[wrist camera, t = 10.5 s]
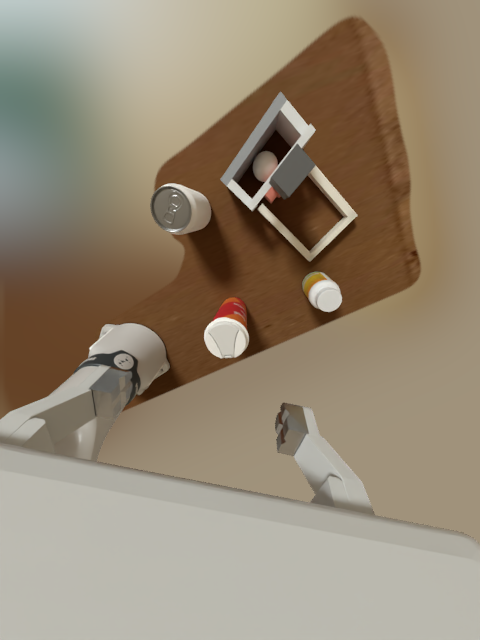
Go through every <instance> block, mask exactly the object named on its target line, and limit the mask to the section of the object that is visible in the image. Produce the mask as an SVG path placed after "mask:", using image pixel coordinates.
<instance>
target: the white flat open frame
mask: <svg viewBox="0 0 480 640" xmlns="http://www.w3.org/2000/svg"><path fill="white" fill-rule="evenodd" d="M308 176H309V178H310V179H311V180H312V181H313V182H314V183H315V184H316V186H317V187H318V188H319V189H320V190H321V191H322V193H323V194H324V195H325V196H326V197H327V198H328V199H329V201H330V202H331V203H332V204H333V205H334V206H335V207H336V209H337V210H338V211H339V212H340V213H341V214H342V216H343V218H342V219H341V220H340V221H339V222H338V223H337V224H336V225H335V226H334V227H333V228H332V229H331V230H330V231H329V232H328V233H327V234H326V235H325V236H324V237H323V238H322V239H321V240H320V241H319V242H318V243H317V244H316V245H315V246H314V247H313V248H312V249H311V250H310V251H308V250H307V249H306V248H305V247H304V245H303V244H302V243H301V242H300V241H299V240H298V239H297V238H296V237H295V236H294V235H293V234H292V233H291V232H290V231H289V230H288V229H287V228H286V227H285V226H284V225H283V224H282V223H281V222H280V221H279V220H278V219H277V218H276V217H275V216H274V215H273V214H272V213H271V212H270V211H269V210H268V209H267V208H266V207H265V206H264V205H263V204H261V206H260V207H259V208H258V209H257V210H258V211H259V212H260V213H261V214H262V215H263V216H264V217H265V218H266V219H267V220H268V221H269V222H270V223H271V224H272V225H273V226H274V227H275V228H276V229H277V230H278V231H279V232H280V233H281V234H282V235H283V236H284V237H285V238H286V239H287V240H288V241H289V242H290V243H291V244H292V245H293V246H294V247H295V248H296V249H297V250H298V251H299V252H300V253H301V254H302V255H303V256H304V257H305V258H306V259H307V260H308V261H309V262H310V261H311V260H312V259H313V258H314V257H315V256H316V255H317V254H319V253H320V252H321V251H322V250H323V249H324V248H325V247H326V246H327V245H328V244H329V243H330V242H331V241H332V240H333V239H334V238H335V237H336V236H337V235H338V234H339V233H340V232H341V231H342V230H343V229H344V228H345V227H346V226H347V225H348V224H349V223H350V222H351V221H352V220H353V219H354V218H355V217H356V216H357V214H356V213H355V211H354V210H353V209H352V208H351V207H350V206H349V204H348V203H347V202H346V201H345V200H344V198H343V197H342V196H341V195H340V194H339V193H338V191H337V190H336V189H335V188H334V187H333V185H332V184H331V183H330V182H329V181H328V180H327V178H326V177H325V176H324V175H323V174H322V172H321V171H320V170H319V169H318V168H317V167H316V166H315V167H314V168H313V169H312V170H311V172H310V173H309V174H308Z"/></svg>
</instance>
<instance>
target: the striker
mask: <svg viewBox="0 0 480 640" xmlns="http://www.w3.org/2000/svg"><path fill="white" fill-rule="evenodd" d="M315 166H316V165H315V164H314V163H313V161H312V160H311V159H310V158H309V157H308V155H307V154H306V153H305V152H304V151H303V150H302V148H301V147H300V146H299V145H298V144H296V146H295V147H294V148H293V149H292V151H291V152H290V153H289V155H288V156H287V157H286V158H285V160H284V161H283V162H282V164H281V165H280V166H279V168H278V169H277V170H276V171H275V173H274V174H273V175H272V177H271V178H270V181H269V184H270V185H271V186H272V187H271V188H270V189H269V190H268V192H267V193H266V194H265V195H264V197H265V198H266V199H267V200H268V201H269V202H270V203H272V202H273V201H274V199H275V198H276V197H278V198H280V197H282V198H283V199H284V200H285V199H286V198H288V197H290V195H291V194H292V193H293V192H294V191H295V189H296V188H297V187H298V186H299V185H300V183H301V182H302V181H303V180H304V179H305V178H306V176H307V175H308V174H309V173H310V172H311V170H312V169H313V168H314V167H315Z"/></svg>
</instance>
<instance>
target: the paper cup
mask: <svg viewBox="0 0 480 640" xmlns="http://www.w3.org/2000/svg"><path fill="white" fill-rule="evenodd" d="M204 339H205V343H206V346H207V348H208V349H209V351H210V352H211V353H212V354H214V355H215V356H217V357H219V358H232V357H237V356H239V355H240V354H241V353H242V352H243V351H244V350H245V349H246V348H247V346H248V343H249V334H248V332H247V311H246V305H245V303H244V302H243V301H242V300H241V299H239V298H236V297H231V298H228V299H226V300H225V301H224V302H223V304H222V305H221V307H220V309H219V310H218V312H217V314H216V316H215V317H214V319H213V321H212V322H211V323H210V324H209V325H208V326H207V328H206V330H205V333H204Z"/></svg>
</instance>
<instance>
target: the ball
mask: <svg viewBox="0 0 480 640" xmlns="http://www.w3.org/2000/svg"><path fill="white" fill-rule="evenodd" d="M277 166H278V161H277V158H276V156H275V155H274V154H273V153H272V152H270V151H263V152H261V153H259V154H258V155H257V156H256V158H255V160H254V162H253V173H254V175H255V177H256V178H257V179H258V180H259V181H262V182H266V181H267V179H268V178H269V177H270V175H271V174H272V173H273V171H274V170H275V169H276V168H277Z"/></svg>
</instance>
